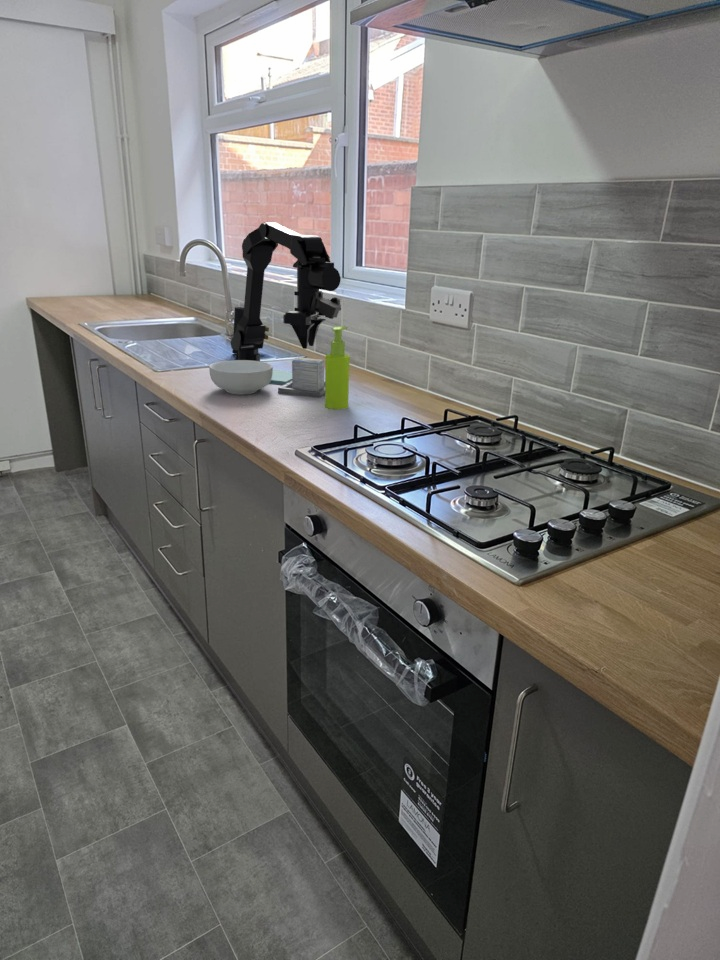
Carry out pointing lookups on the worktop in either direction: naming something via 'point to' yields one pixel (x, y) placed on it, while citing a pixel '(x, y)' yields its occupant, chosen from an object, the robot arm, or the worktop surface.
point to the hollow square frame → (300, 391)
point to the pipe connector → (237, 316)
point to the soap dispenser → (337, 373)
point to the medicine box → (308, 374)
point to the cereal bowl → (241, 375)
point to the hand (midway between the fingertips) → (308, 347)
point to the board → (281, 377)
